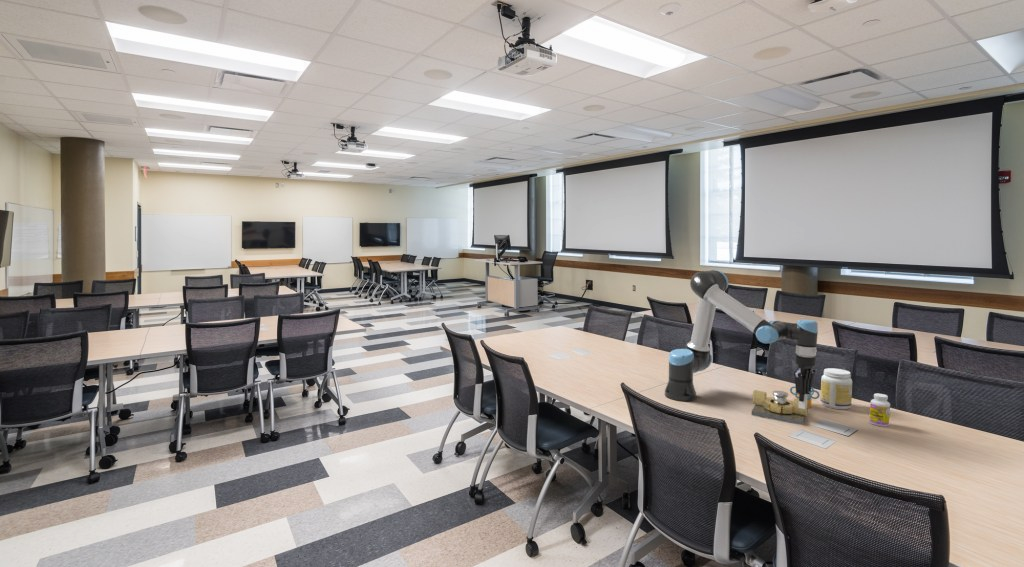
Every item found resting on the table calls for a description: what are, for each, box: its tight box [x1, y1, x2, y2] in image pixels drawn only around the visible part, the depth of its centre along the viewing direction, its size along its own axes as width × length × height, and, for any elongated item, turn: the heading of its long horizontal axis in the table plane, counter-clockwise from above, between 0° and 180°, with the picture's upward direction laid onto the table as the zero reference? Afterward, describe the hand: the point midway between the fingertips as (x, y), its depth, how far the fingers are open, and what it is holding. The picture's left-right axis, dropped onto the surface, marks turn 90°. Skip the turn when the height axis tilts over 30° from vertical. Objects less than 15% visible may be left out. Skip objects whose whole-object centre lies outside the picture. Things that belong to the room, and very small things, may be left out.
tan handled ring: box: [752, 389, 809, 417], centre depth 212 cm, size 22×12×6 cm, turn 44°
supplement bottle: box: [868, 392, 891, 428], centre depth 199 cm, size 7×7×13 cm
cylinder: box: [789, 385, 821, 409], centre depth 221 cm, size 12×10×15 cm
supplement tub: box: [820, 367, 853, 410], centre depth 221 cm, size 12×12×17 cm
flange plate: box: [750, 390, 807, 426], centre depth 212 cm, size 20×18×10 cm
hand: (802, 408), depth 204 cm, fingers closed
